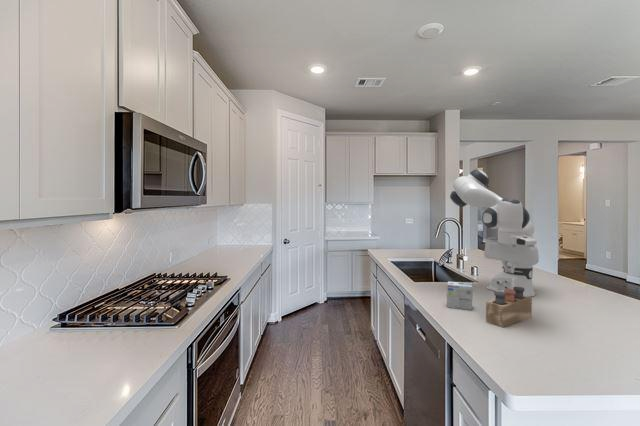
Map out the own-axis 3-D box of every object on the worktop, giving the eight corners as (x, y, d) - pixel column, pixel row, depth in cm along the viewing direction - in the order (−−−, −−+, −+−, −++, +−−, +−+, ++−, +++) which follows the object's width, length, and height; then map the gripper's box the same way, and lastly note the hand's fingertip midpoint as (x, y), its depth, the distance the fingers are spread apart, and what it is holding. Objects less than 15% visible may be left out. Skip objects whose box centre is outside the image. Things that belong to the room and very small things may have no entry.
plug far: (510, 306, 136) (511, 287, 136) (516, 304, 138) (516, 286, 138) (520, 308, 133) (521, 289, 133) (525, 307, 135) (526, 288, 135)
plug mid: (501, 309, 133) (502, 289, 132) (507, 307, 135) (507, 288, 134) (511, 312, 129) (512, 292, 129) (517, 310, 131) (517, 290, 131)
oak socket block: (485, 321, 130) (486, 302, 129) (514, 312, 141) (514, 293, 140) (503, 327, 124) (503, 307, 123) (531, 316, 135) (531, 298, 134)
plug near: (491, 312, 129) (492, 292, 129) (497, 310, 131) (498, 291, 131) (501, 315, 126) (502, 295, 125) (507, 313, 128) (508, 293, 127)
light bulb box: (472, 306, 149) (472, 283, 148) (472, 310, 143) (472, 286, 142) (447, 303, 153) (447, 280, 153) (446, 307, 147) (446, 284, 147)
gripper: (481, 236, 138) (480, 268, 139) (532, 241, 121) (531, 278, 121) (489, 235, 141) (489, 267, 142) (541, 240, 124) (540, 276, 124)
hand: (509, 272), depth 131 cm, fingers closed
